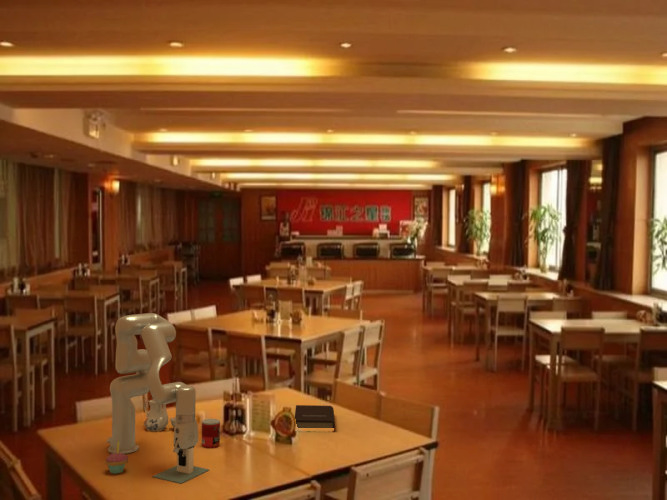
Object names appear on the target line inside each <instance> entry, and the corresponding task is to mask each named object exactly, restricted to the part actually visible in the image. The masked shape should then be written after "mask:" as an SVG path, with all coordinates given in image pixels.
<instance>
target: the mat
mask: <svg viewBox="0 0 667 500" xmlns="http://www.w3.org/2000/svg"><path fill="white" fill-rule="evenodd" d="M209 471H210V469H208V468H204V467H199V466H196V465H195V466H194V465H193V472H192V473H190V474H188V473H183V472H179V471H177V465H175V466H173V467H171V468H170V467H169V468H168V469H165V470H163V471H161V472H159V473H156V474H154V475H152V478H154V479H155V478H156V479H159V480H163V481H168V482H171V483H176V484H179V485H180V484H181V485H182V484H184V483H186V482H188V481H190V480H193V479H194V478H196V477H198V476H201V475H203V474H205V473H207V472H209Z"/></svg>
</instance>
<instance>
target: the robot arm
mask: <svg viewBox="0 0 667 500" xmlns="http://www.w3.org/2000/svg"><path fill="white" fill-rule="evenodd" d="M114 329H115V331H114V332H115V337H116V347H115V348H116V350H115V371H116V372H117V373H118V374H121V375H123V376H118V377H116V378H114V379H113V380H112V381H111V382H110V385H109V393H110V397H111V398H110V399H111V411H112V412H111V415H112V416H111V418H112V419H111V421H112V422H111V425H112V426H111V436H108V439H106V443H108V444H110V445H109V446H108V447H107V451H108V453H110V454H114V453H117V442H118V440H119V453H122V454H125V455H126V454H132V453H134V452H137V451H138V450H139V449H140V446H139V445H138V444H137V443H136V405H135V404H134V402H133V401H132V400H131V398H136V397H141V396H144V395H147V394H149V392H150V394H151V397H152V400H153V399H154V401H155V402H156V403H157V404H161V405H162V406H163V405H164V404H166V405H167V404H171V403H175V417H176V423H175V428H174V427H173V428H174V430H173V450H172V452H173V453H176V456H177V455H178V456H179V465H180V466H186V456H185V449H187V448H189V447H192V446H194V447H195V446H196V445H197V444H198V443H199V427H198V422H197V419H196V401H197V400H196V392H197V391H196V388H195V386H193V385H188V384H186V383H184V382H182V381H176V382H169V383H165V384H162V381H161V380H160V378H161V377H160V369H161V368H162V367H163V366H164V365H166V364H167V363H169V362H170V361H171V360H172V352H171V350H170V348H169V345H168V343H171V342H173V341H174V340H175V339H176V336H177V330H176V328H175V326H174V325H173V324H172V322H171V321H169V320H168V319H166V318H164V317H162V316H161V315H159V314H157V313H153V312H151V313H150V312H148V313H138V314H137V313H136V314H128V315H124V316H122V317H121V316H120V317H119V319H117V321H116V323H115V328H114ZM137 335H141V338H142V341H143V344H144V347H145V349H144V348H143V349H142V348H141V349H138V339H137V337H136V336H137ZM181 450H182V451H181Z"/></svg>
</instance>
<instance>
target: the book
mask: <svg viewBox="0 0 667 500" xmlns="http://www.w3.org/2000/svg"><path fill="white" fill-rule="evenodd" d="M294 418H295V419H296V424H297V427H298V428H335V429H336V421H335V410H334V407H333V406H332V405H315V404H314V405H311V404H310V405H309V404H300V405H299V404H295V411H294Z"/></svg>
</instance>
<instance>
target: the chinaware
mask: <svg viewBox="0 0 667 500" xmlns="http://www.w3.org/2000/svg"><path fill="white" fill-rule="evenodd" d="M148 403H149V404H148ZM147 404H148V405H149V406H150V407H149V408H150V409H149V411H147V407H146V405H147ZM143 409H144V412H145V414H146V415H145V416H146V419H145V421H144V422H143V425H144V427H146V430H147V431H148V432H152V433H153V432H155V433H157V432H162V431H165V430H166V427H167V426H168V424H169V421H170V423H171V426H172V427H173V428H175V423H176V416H174V417H170V418H169V415H168V410H167V404H162V405H161V404H157V403H156V402H155V401H154V399H153V398H152V399H150V400H147V401H145V402H144V404H143ZM164 429H165V430H164Z"/></svg>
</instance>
